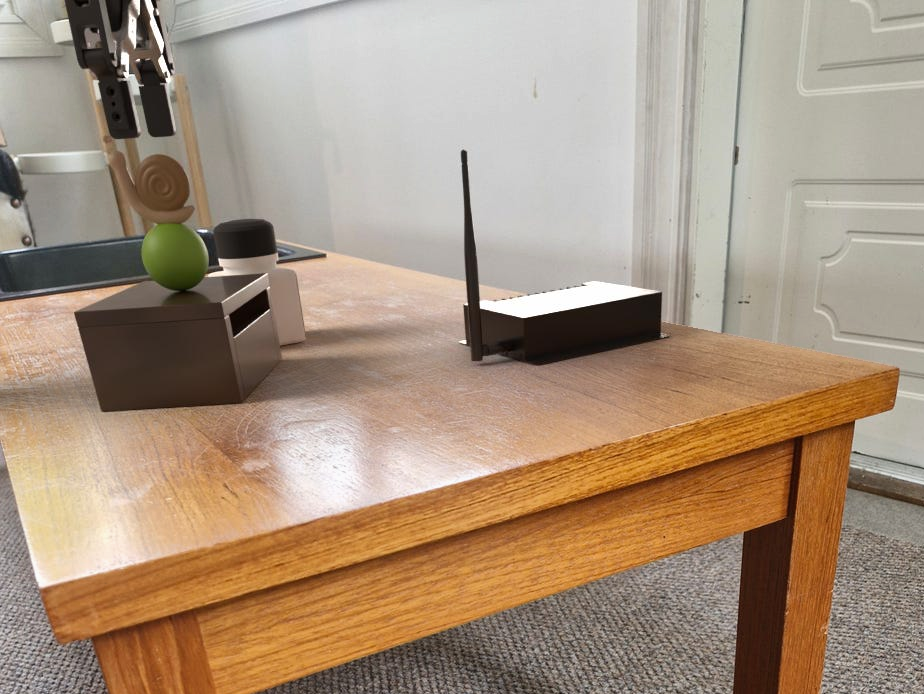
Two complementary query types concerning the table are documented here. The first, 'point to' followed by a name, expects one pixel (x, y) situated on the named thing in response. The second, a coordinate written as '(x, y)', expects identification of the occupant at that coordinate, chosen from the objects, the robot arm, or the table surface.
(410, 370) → the table surface
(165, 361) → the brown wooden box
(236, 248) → the medicine bottle
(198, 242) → the snail figurine
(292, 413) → the table surface
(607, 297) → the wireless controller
